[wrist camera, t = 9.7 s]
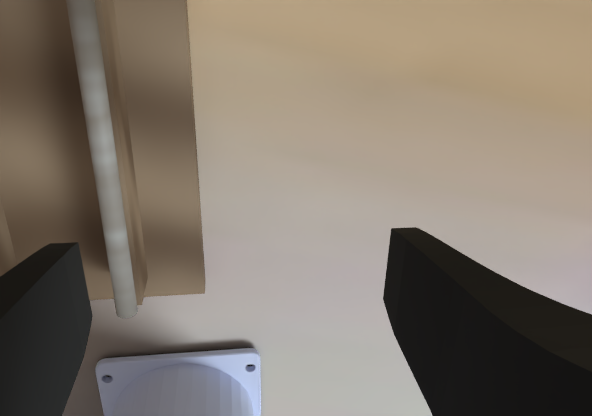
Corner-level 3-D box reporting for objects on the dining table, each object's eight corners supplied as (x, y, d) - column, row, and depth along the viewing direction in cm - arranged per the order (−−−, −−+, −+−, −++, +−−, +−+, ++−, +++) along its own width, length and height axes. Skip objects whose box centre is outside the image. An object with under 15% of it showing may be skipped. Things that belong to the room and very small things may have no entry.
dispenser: (205, 280, 24) (202, 333, 21) (-47, 294, 23) (-93, 353, 19) (173, -194, 16) (161, -233, 13) (-212, -216, 15) (-339, -267, 12)
